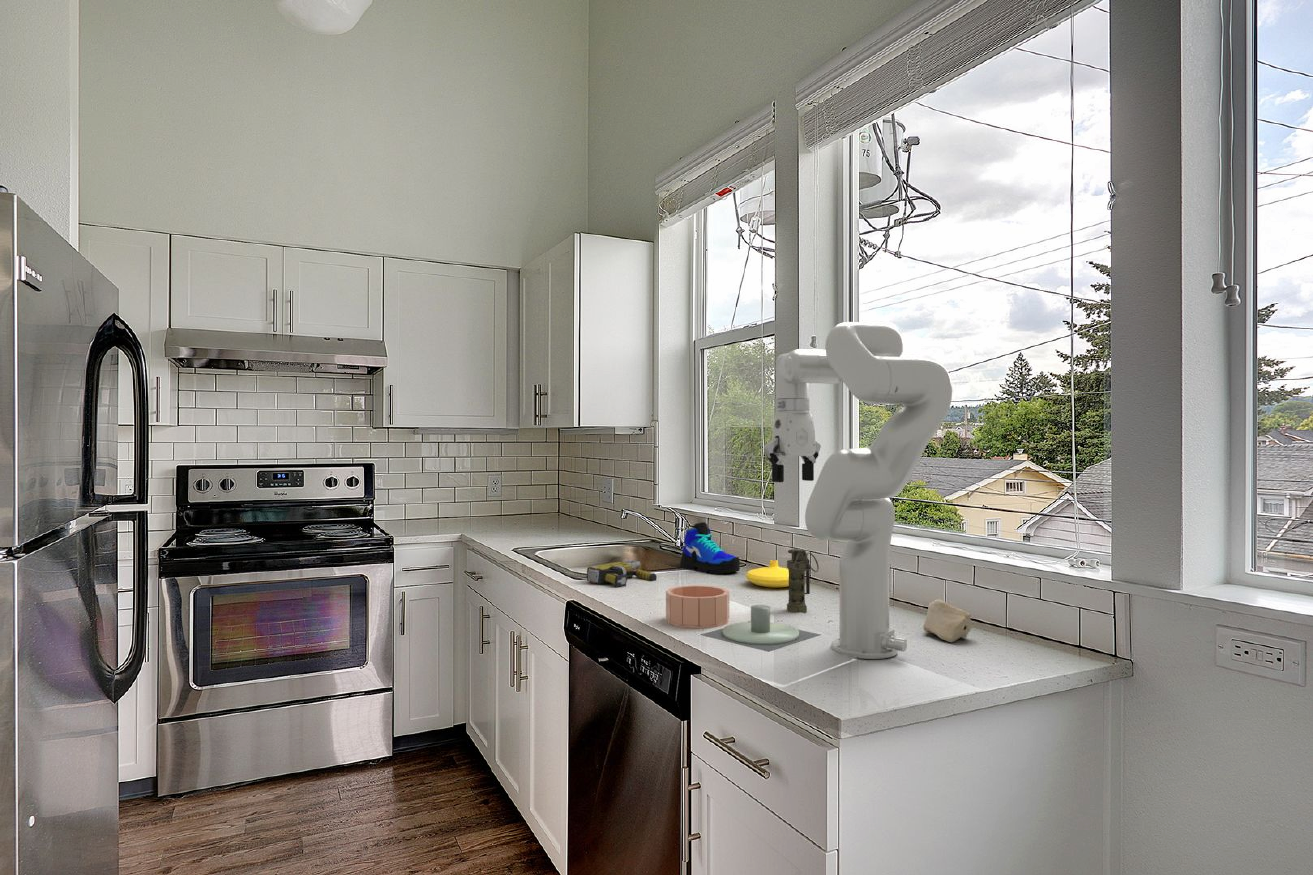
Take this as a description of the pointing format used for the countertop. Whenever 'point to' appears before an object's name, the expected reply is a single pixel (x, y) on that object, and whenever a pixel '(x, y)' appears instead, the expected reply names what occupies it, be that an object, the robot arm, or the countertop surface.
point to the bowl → (697, 606)
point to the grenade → (798, 580)
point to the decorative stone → (947, 621)
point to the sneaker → (706, 553)
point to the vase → (769, 576)
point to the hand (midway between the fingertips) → (793, 481)
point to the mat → (802, 636)
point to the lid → (760, 629)
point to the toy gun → (617, 573)
